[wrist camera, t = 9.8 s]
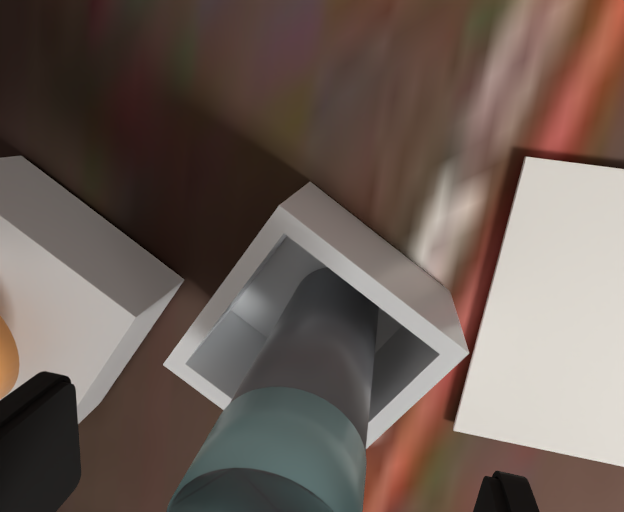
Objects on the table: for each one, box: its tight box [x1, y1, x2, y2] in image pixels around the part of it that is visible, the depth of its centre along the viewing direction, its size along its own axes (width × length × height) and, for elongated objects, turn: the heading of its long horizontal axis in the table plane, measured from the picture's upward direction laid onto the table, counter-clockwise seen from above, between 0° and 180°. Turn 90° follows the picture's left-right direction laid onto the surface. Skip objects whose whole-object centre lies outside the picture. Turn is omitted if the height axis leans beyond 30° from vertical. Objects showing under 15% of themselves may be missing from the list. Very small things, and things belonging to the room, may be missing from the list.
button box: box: [0, 156, 184, 424], centre depth 19 cm, size 9×9×4 cm
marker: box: [167, 267, 379, 512], centre depth 13 cm, size 4×4×11 cm
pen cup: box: [163, 182, 469, 449], centre depth 17 cm, size 7×7×5 cm
